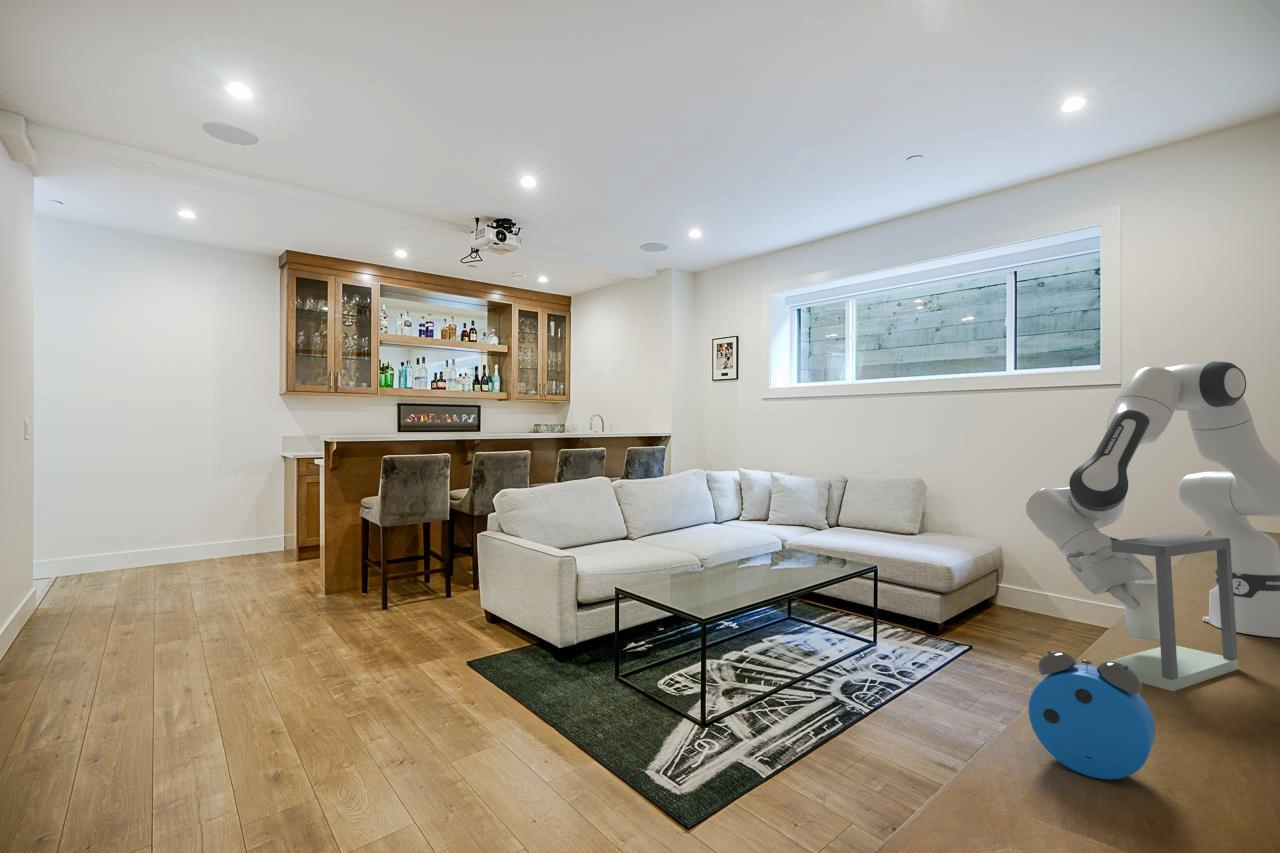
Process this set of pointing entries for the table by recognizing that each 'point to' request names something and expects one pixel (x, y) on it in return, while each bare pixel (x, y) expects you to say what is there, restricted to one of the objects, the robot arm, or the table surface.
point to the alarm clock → (1092, 716)
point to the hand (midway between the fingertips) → (1144, 605)
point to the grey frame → (1170, 661)
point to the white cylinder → (1142, 610)
